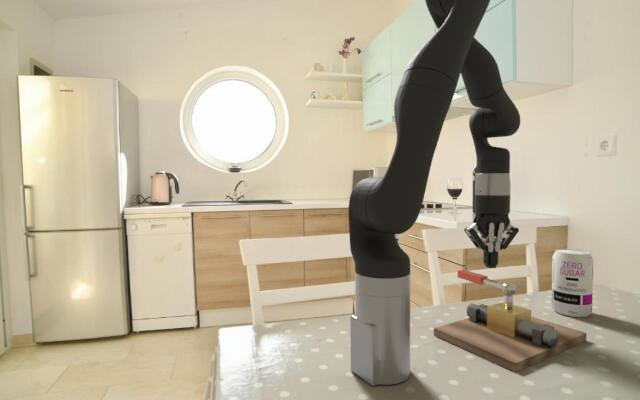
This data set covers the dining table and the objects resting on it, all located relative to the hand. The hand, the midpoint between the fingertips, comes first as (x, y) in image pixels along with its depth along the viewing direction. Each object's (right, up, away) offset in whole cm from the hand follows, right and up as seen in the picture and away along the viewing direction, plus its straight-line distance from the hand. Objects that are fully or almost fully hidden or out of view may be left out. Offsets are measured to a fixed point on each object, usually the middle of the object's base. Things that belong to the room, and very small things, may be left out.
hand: (490, 267), depth 88 cm
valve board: (-1, -13, -10) cm, 16 cm away
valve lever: (-3, -3, -5) cm, 7 cm away
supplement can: (+22, -12, +4) cm, 25 cm away
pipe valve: (-1, -13, -10) cm, 16 cm away
